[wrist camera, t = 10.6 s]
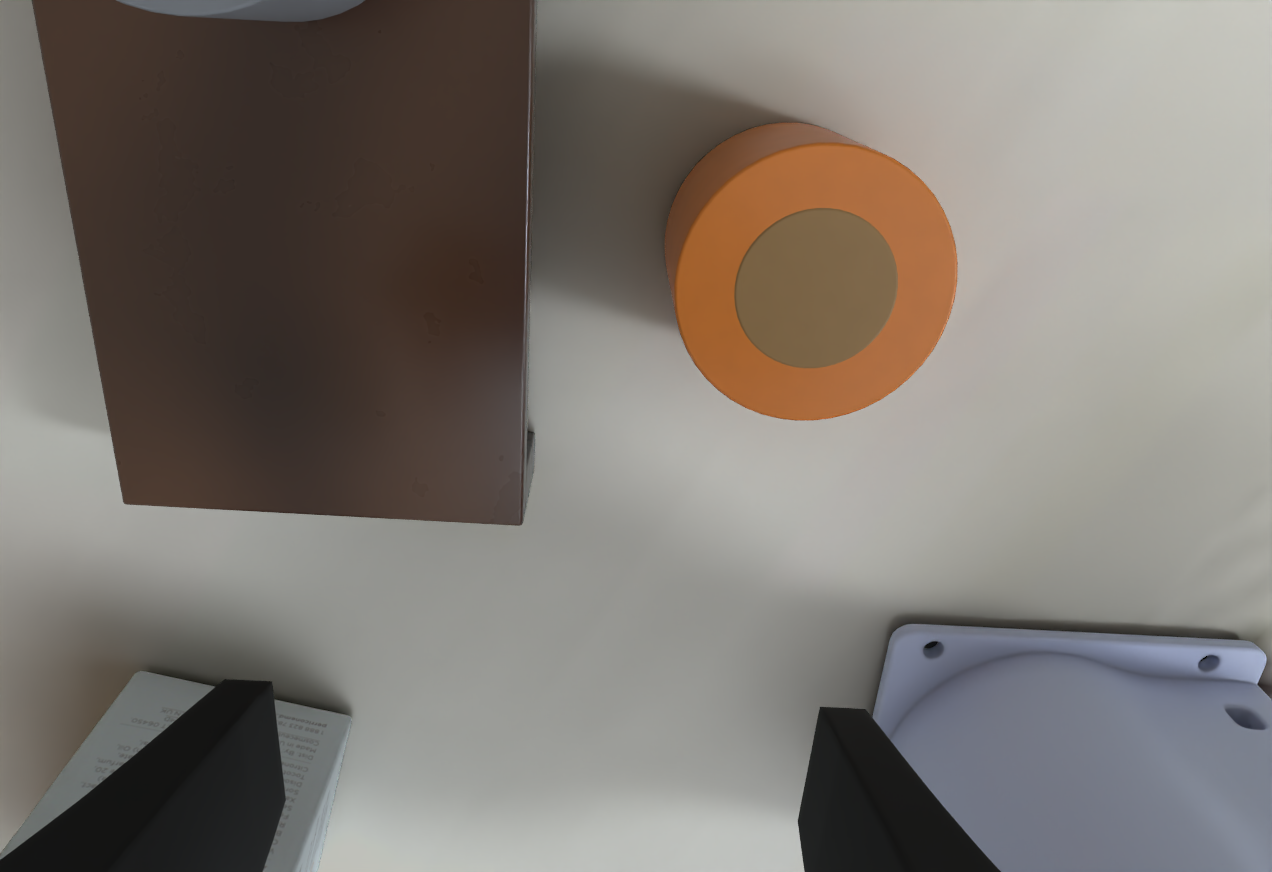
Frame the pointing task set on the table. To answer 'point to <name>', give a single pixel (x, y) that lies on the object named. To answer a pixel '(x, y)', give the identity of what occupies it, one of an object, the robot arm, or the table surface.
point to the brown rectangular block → (306, 251)
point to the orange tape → (807, 271)
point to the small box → (160, 700)
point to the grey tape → (248, 8)
